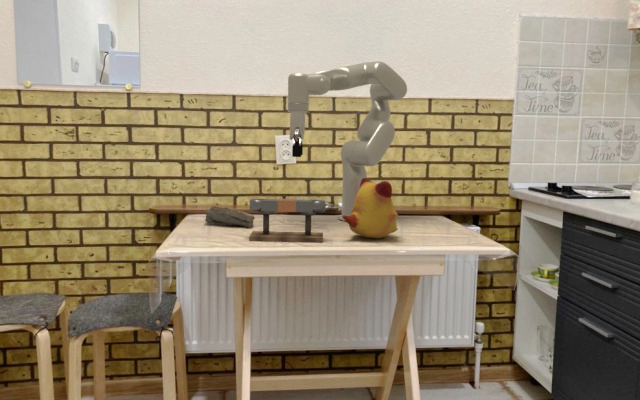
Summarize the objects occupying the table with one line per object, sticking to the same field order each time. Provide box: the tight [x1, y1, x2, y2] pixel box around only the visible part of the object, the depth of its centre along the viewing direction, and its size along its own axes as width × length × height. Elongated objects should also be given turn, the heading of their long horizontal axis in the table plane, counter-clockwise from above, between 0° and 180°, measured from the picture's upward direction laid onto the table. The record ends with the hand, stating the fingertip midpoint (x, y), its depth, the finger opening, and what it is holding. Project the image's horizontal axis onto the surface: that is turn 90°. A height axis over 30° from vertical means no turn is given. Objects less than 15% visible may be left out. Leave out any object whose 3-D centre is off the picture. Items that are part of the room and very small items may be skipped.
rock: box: [204, 205, 256, 228], centre depth 214 cm, size 11×18×10 cm, turn 78°
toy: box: [342, 177, 399, 239], centre depth 194 cm, size 20×21×20 cm
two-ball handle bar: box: [249, 198, 326, 214], centre depth 191 cm, size 25×5×4 cm, turn 89°
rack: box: [248, 211, 324, 243], centre depth 191 cm, size 24×9×10 cm, turn 89°
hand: (297, 155), depth 210 cm, fingers open, 9 cm apart
